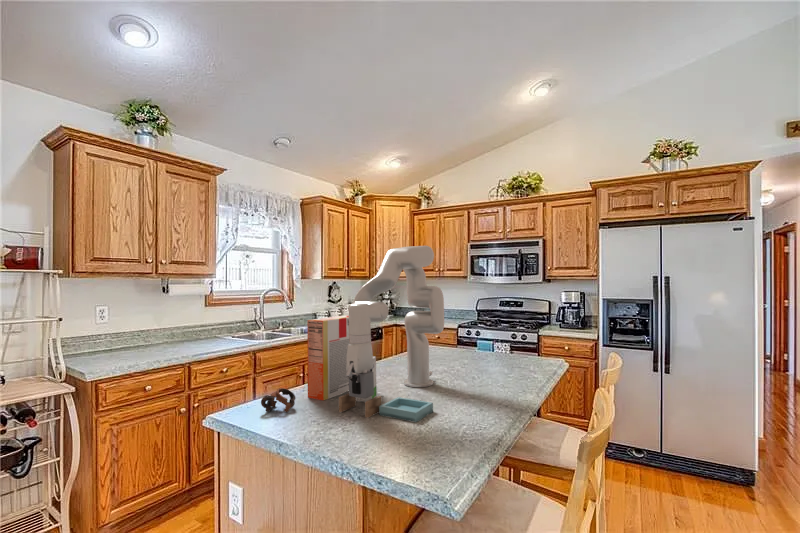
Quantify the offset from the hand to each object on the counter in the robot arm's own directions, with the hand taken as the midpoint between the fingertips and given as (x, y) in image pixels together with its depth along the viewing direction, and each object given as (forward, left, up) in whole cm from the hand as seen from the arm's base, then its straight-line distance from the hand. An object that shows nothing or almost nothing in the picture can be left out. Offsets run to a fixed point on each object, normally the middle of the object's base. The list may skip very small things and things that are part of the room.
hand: (361, 390), depth 140 cm
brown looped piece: (+14, -26, -7) cm, 31 cm away
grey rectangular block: (0, 0, -2) cm, 2 cm away
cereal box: (-14, -24, -7) cm, 29 cm away
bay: (+1, 0, -7) cm, 7 cm away
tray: (-5, +15, -7) cm, 17 cm away
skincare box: (-12, -7, -7) cm, 16 cm away
